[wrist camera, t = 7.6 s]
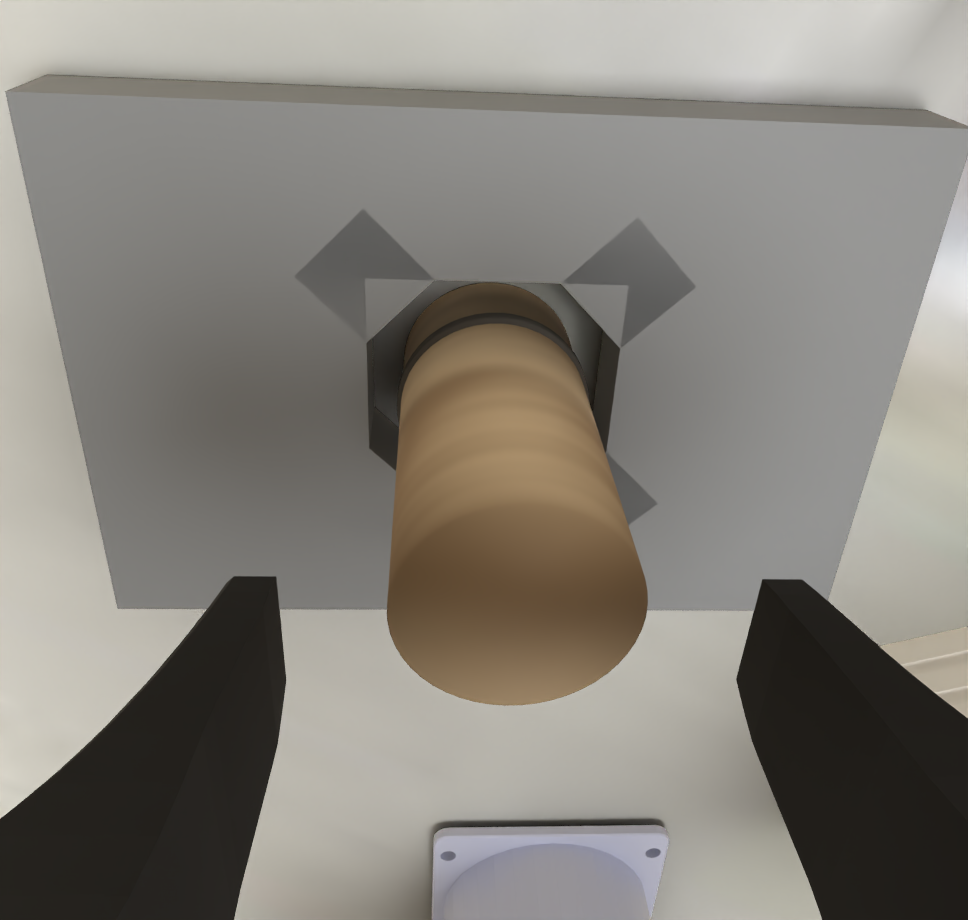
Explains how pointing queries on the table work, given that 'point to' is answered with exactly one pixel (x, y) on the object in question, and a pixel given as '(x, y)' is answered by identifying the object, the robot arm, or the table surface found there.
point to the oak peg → (505, 509)
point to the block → (937, 663)
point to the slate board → (472, 257)
